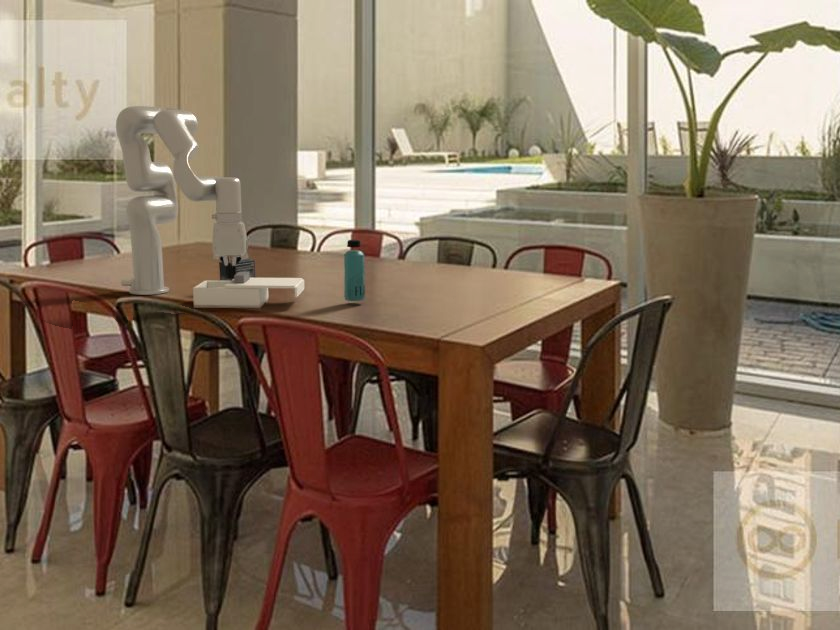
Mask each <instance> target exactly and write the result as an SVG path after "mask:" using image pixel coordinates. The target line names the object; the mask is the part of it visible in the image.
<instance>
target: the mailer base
mask: <svg viewBox="0 0 840 630" xmlns="http://www.w3.org/2000/svg"><path fill="white" fill-rule="evenodd" d="M229 282H230V281H220V280H203V281H202V282H200V283H198V284H197V285H196V286H193V287H192V291H193V292H192V293H193V295H192V296H193V308H202V309H203V308H205V309H206V308H213V309H214V308H215V309H216V308H217V309H219V308H220V309H223V308H224V309H226V308H227V309H261V308H262V307H263V306H264V305H265V304H266V303H267V302H268V301H269V288H225V285H226V284H227V283H229ZM265 302H266V303H265ZM264 303H265V304H264Z"/></svg>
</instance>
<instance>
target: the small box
mask: <svg viewBox="0 0 840 630" xmlns="http://www.w3.org/2000/svg"><path fill="white" fill-rule="evenodd" d="M230 263H231V264H232V260H231V259H230ZM218 264H219V265H218V266H219V281H232V280H233V279H231V278H230V279H228V276H226V266H225V265H224V263H223V262H222V261H219V262H218ZM255 264H256V263H255V259H250V258H247V259H244V260H241V261H240V262H239V263H238V264H237V273H239V272H249V276H250V278H256V265H255Z"/></svg>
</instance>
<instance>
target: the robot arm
mask: <svg viewBox="0 0 840 630" xmlns="http://www.w3.org/2000/svg"><path fill="white" fill-rule="evenodd" d="M197 119H198V118H197V117H196V116H195V115H194V114H193V112H191V111H189V110H186V109H178V108H170V107H161V106H147V105H146V106H144V105H132V106H128V107H125V108H123V109H122V110H121V111H120V112H119V113H118V114H117V118H116V121H115V122H116V123H115V130H116V134H117V138H118V141H119V144H120V148H121V153H122V161H123V166H124V172H125V179H126V184H127V187H128V188H129V189H130V190H131V191H133V192H138V193H143V192H145V193H146V192H153V195H152V194H151V195H139V196H136V197H135V196H134V197H132V198H131V199H130V200H129V201H128V202H127V204H126V207H125V213H126V218H127V222H128V226H129V233H130V242H131V243H130V246H131V254H132V255H131V257H132V260H131V261H132V277H133V278H131V279H122V280H121V287H130V288H129V289H128V290H129V292H128V293H129V294H131V295H137V296H142V295H143V296H149V295H160V294H165V293H168V292H169V291H170V288H169V286H165V283H164V282H165V281H164V280H165V279H164V267H163V266H164V264H163V263H164V261H163V248H162V247H163V246H162V237H161V234H160V232H159V230H158V228H157V225H163V224H171V223H173V222H174V221H175V220H176V219H177V217H178V215H179V204H178V194H177V189H176V185H177V186H178V187H179V189H180V191H181V192H182V194H183V195H184V196H185V197H186V198H187V200H188V199H189V201H192V202H196V203H200V202H208V201H209V202H212V201H213V202H214V201H215V208H216V210H215V211H216V212H215V214H211V219H212V220H215V222H214V223H213V229H212V243H211V244H212V248H211V249H212V254H213V255H212V256H213V257H212V259H214V260H218V261H220V262H223V263H224V265H225V266H226V276H228V279H230V278H231V279H234V275H236V274H237V264H238V263H239V262H240V261H241V260H244V259H249V253H248V249H249V247H248V245H249V244H248V237H247V231H246V225H245V222H243V215H242V214H243V211H242V190H241V189H242V188H241V187H242V186H241V184H242V183H241V181H240V179H239V178H238V177H234V176H233V177H231V176H230V177H228V176H227V177H226V176H225V177H223V176H219V175H204V176H202V175H200V176H197V175H196V174H195V173H194V171H193V170H192V169H191V167H190V164H189V161H191V160H192V159H193V158H195V156H197V154H198V153H199V148H200V147H199V144H198V142H197V141H196V140H195V138H194V136H195V135H196V134H197V132H198V129H199V123H198V120H197ZM142 134H155V135H156V134H157V135H158V136H159V137H160V139H161V141H162V142H163V144H164V145H165V146H166V148H167V150H168V151H169V153H170V154H171V156H172V157H173V163H172V169H171V168H170V166H169V165H168V164H166V163H165V162H161V161H152V158H151V153H150V152H151V150H150V148H149V145H148V143H147V141H146V140H145V139H144V138H143V136H142ZM230 257H232V264H231V263H230V260H231V259H230Z"/></svg>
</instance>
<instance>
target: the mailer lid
mask: <svg viewBox="0 0 840 630" xmlns="http://www.w3.org/2000/svg"><path fill="white" fill-rule="evenodd" d="M225 288H268V289H294V298H298V297H299V295H301V293H302V292H303V291H304V290H305V279H303V278H302V277H255V278H250V276H249V272H239V273H237V274H236V275H234V279H233V280H232V281H230V282H229V283H227V284H226V285H225Z"/></svg>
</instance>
